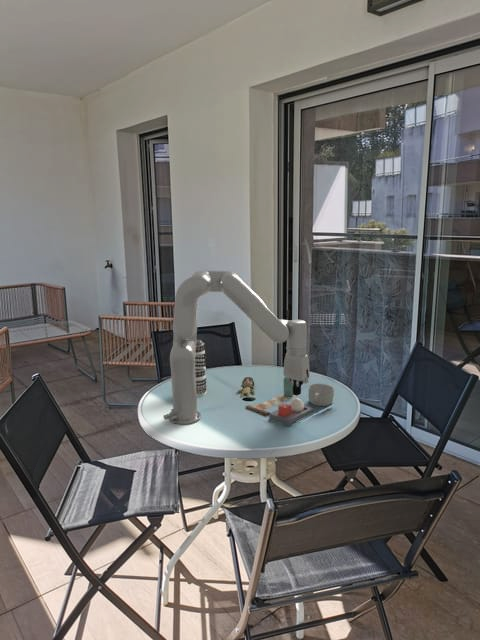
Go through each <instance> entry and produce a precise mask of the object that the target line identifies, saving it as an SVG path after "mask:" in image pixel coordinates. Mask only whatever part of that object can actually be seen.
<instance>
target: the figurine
mask: <svg viewBox="0 0 480 640" xmlns="http://www.w3.org/2000/svg"><path fill="white" fill-rule="evenodd" d="M240 387H241V389H239V390H237V392H236V393H237V394H241V395H240V398H243V397H244V396H246V398H247V399H249V398H250V394H251V393H252V394H253V395H255V394H256V391H255V390H254V388H256V386H255V381H254V379H253V377H251V376H248V377H247V376H246V377H245V378H244V379H243V380H242V382H241V385H240Z"/></svg>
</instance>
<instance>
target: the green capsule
mask: <svg viewBox="0 0 480 640" xmlns="http://www.w3.org/2000/svg"><path fill="white" fill-rule="evenodd" d="M283 394H284V396H285V397H284V398H286V397H292V396H294V395H293V385H292V384H291V381H290V380H289V379H287V378H286V377H285V376H284V377H283ZM294 397H295V396H294ZM292 398H293V397H292Z"/></svg>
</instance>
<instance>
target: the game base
mask: <svg viewBox="0 0 480 640" xmlns="http://www.w3.org/2000/svg"><path fill="white" fill-rule="evenodd" d="M277 407H278V409H277V410H274V411H272V412H270V413H269V415H268V416H269V420H271V421H272V422H276V423H279V424H280V425H284V426H286V427H291V426H293V425H296V424H297V423H298V422H301V421H303V420H305V419H307V418H309V417H311V416H313V415H314V411H315V410H314V407H310V406H307V405H305V404H304V411H302V412H300V413H295V412H292V411H291V405H289V403H288V404H287V403H282V404H281V403H280V404H279V405H278V406H277ZM297 420H298V421H297Z"/></svg>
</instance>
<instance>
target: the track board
mask: <svg viewBox="0 0 480 640" xmlns="http://www.w3.org/2000/svg"><path fill="white" fill-rule="evenodd" d="M295 397H296V396H295V395H294V396H292V397H285V396H284V393H283V394H281V395H279V396H275V397H273V398H271V399H268V400H266V401H264V402H262V403H259V404H257V405H253V406H252V405H250V404H247V405H245V409H248V410H250V411H253V412H255V413H258V414H260V415H264V416H269V413H271V412H270V411H266V410H268V409H270V408H271V407H274V406H276V405H278V404H279V405H280V403H283V402H285V401H287V400H289V399H293V398H295Z"/></svg>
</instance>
